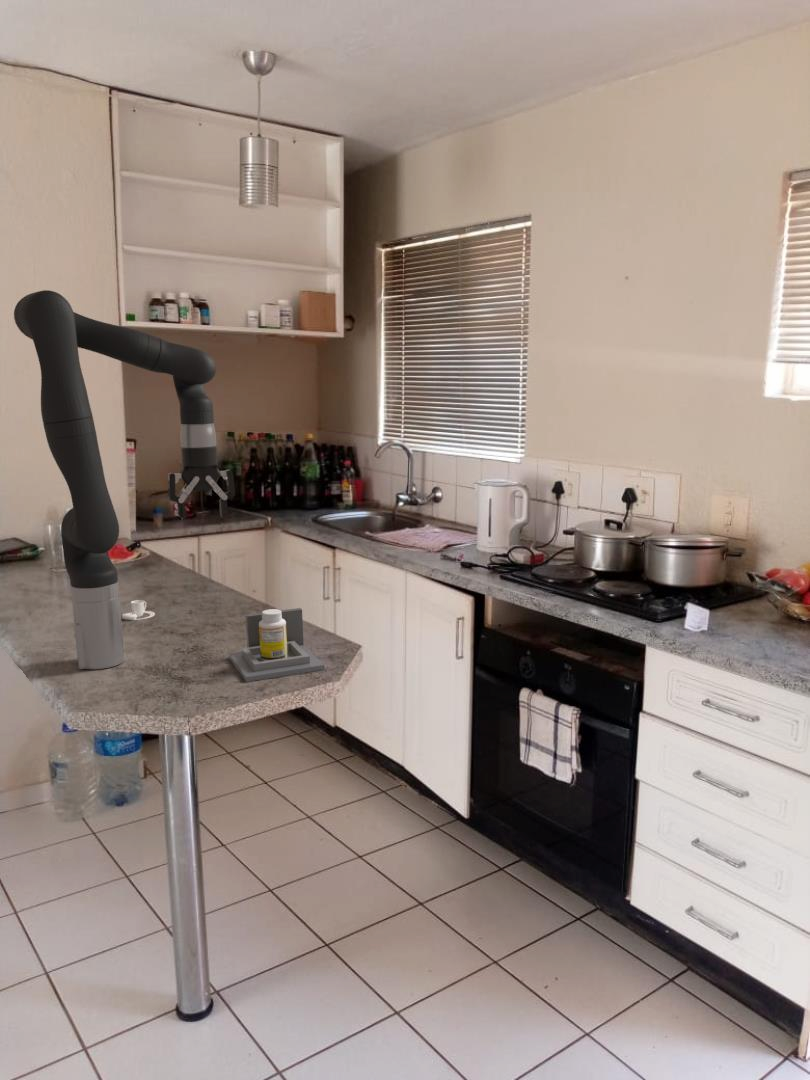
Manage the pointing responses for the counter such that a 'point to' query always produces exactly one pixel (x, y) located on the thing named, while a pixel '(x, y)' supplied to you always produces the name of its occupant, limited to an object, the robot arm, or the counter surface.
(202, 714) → the counter surface
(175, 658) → the counter surface
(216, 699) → the counter surface
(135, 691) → the counter surface
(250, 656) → the charging dock
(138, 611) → the teacup and saucer
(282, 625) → the supplement bottle
